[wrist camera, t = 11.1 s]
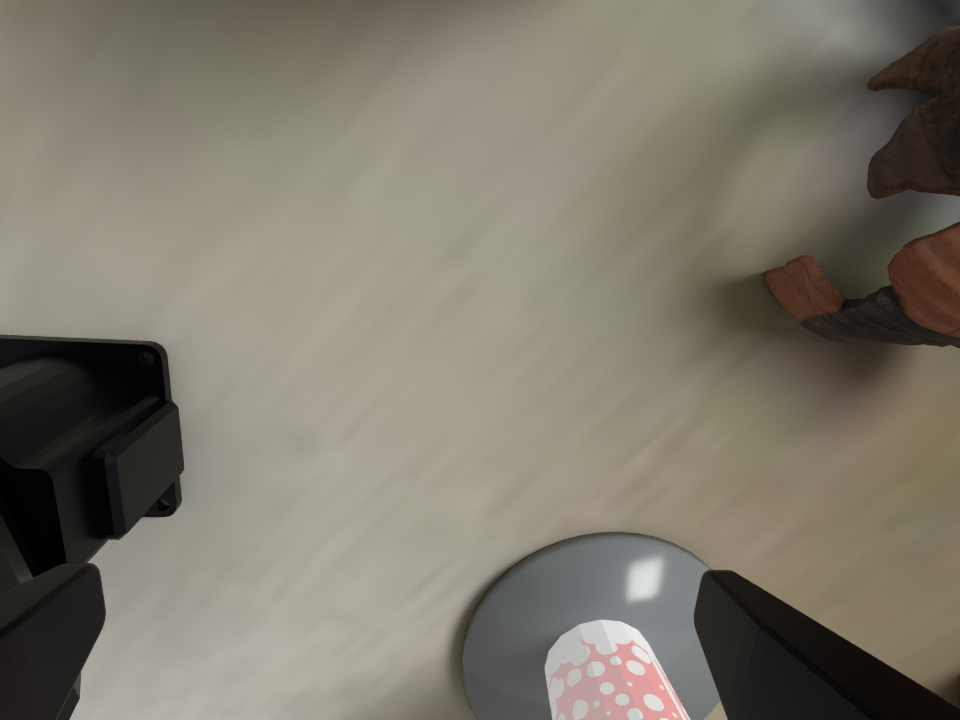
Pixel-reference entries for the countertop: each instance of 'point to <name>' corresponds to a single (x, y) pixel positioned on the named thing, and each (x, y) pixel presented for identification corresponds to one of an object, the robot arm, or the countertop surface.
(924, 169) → the pottery mug
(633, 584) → the coaster
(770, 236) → the countertop surface
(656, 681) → the beverage cup
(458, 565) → the countertop surface
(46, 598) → the robot arm
